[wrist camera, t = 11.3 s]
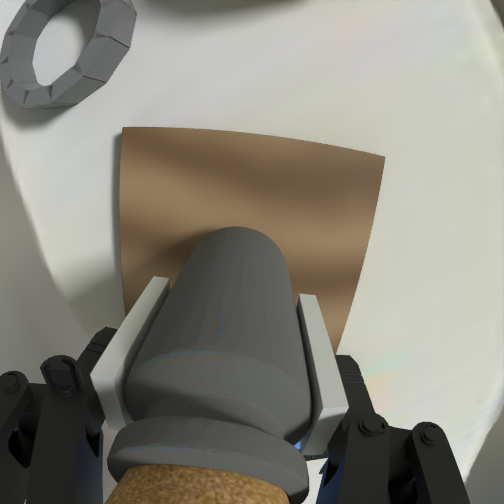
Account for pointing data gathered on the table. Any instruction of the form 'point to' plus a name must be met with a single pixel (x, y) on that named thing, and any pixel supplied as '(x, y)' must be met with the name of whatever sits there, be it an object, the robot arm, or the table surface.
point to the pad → (247, 207)
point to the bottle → (218, 385)
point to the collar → (87, 66)
